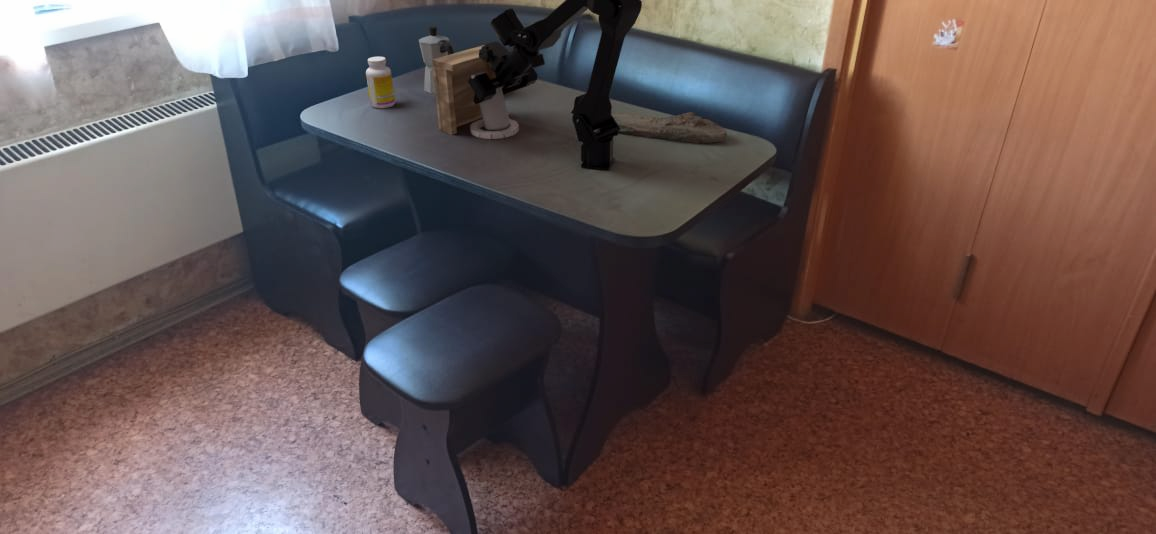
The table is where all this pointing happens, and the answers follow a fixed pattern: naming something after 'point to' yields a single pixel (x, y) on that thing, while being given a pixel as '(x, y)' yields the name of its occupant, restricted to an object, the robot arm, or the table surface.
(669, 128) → the elongated rock
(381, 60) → the supplement bottle
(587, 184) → the table surface
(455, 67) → the wooden tray
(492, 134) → the socket ring
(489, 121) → the beverage can
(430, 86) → the coffee maker
